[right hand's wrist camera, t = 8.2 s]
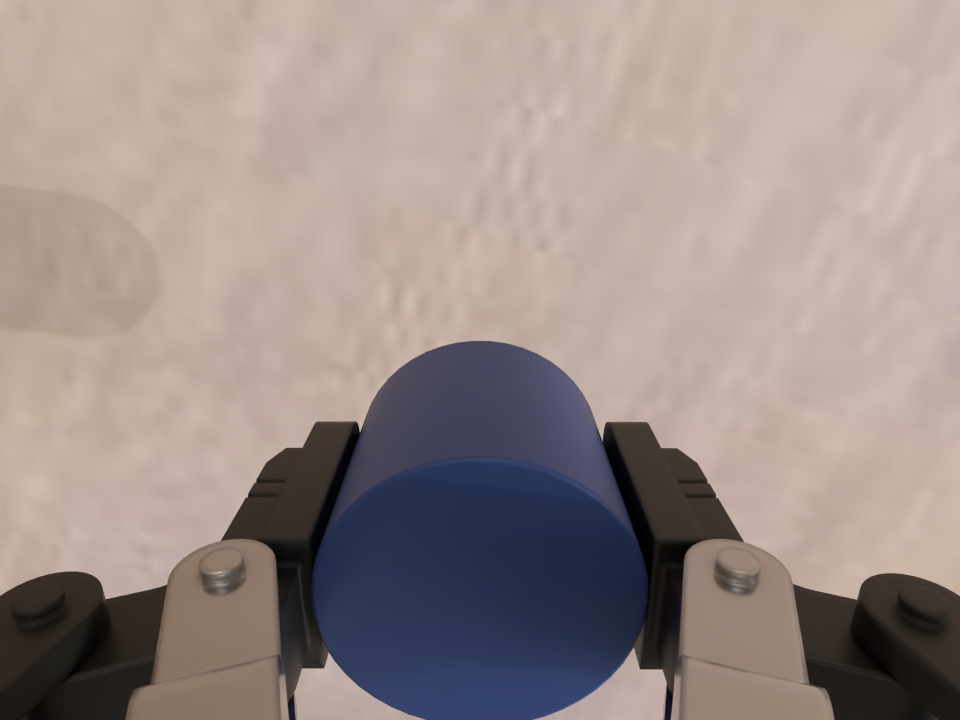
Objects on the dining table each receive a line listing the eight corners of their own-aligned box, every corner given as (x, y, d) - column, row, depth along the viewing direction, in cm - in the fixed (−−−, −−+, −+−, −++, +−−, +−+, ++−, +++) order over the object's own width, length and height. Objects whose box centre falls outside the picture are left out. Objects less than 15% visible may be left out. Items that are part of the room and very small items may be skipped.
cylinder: (545, 571, 14) (571, 759, 10) (335, 509, 13) (274, 683, 9) (636, 384, 12) (709, 520, 8) (402, 305, 12) (363, 411, 8)
